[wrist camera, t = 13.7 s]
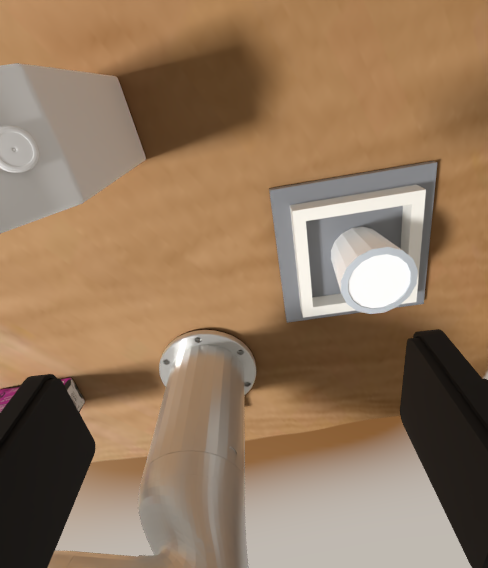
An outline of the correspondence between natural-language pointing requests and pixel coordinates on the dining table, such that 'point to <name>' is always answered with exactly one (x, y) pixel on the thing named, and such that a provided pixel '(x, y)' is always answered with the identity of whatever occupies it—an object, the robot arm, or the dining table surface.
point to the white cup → (372, 271)
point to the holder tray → (341, 217)
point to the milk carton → (60, 140)
